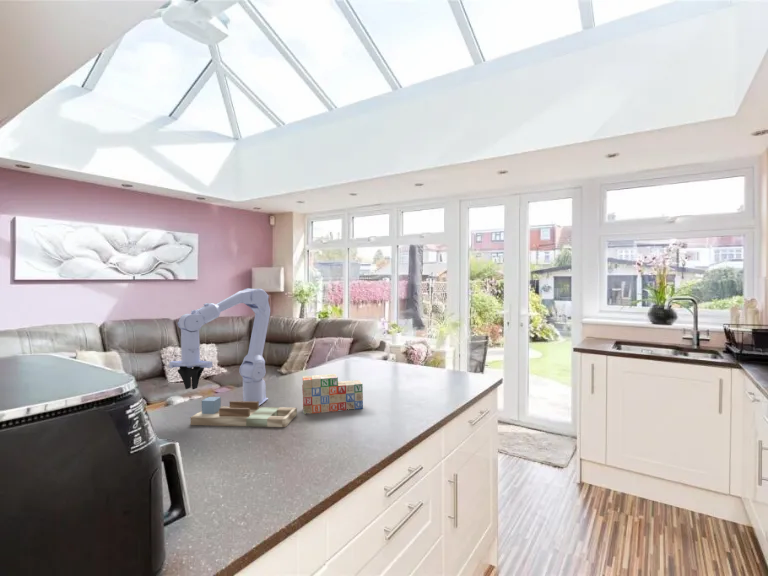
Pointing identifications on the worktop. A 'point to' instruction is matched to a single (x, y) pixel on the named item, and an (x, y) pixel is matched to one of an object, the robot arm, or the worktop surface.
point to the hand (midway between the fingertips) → (191, 388)
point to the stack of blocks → (330, 394)
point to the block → (211, 405)
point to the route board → (246, 415)
